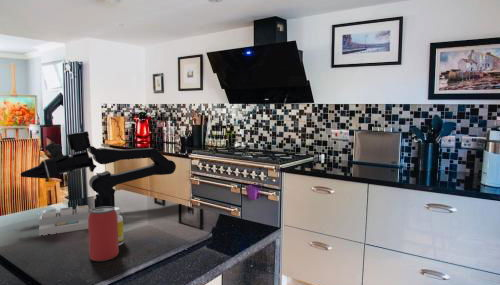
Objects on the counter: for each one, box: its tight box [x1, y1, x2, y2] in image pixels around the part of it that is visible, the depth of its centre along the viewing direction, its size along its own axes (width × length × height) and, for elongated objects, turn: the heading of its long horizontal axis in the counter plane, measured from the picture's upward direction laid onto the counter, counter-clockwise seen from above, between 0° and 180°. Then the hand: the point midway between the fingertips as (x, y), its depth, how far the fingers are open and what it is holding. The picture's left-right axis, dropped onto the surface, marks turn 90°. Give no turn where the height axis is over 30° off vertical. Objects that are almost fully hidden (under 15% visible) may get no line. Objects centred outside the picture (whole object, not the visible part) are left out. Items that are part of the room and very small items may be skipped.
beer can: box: [87, 206, 120, 262], centre depth 81 cm, size 7×7×12 cm
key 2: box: [75, 204, 89, 214], centre depth 109 cm, size 3×3×2 cm
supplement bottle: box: [114, 206, 125, 247], centre depth 90 cm, size 5×5×10 cm
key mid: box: [59, 206, 73, 216], centre depth 106 cm, size 3×3×2 cm
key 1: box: [42, 208, 57, 219], centre depth 104 cm, size 3×3×2 cm
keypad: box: [38, 208, 91, 237], centre depth 106 cm, size 14×14×4 cm
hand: (21, 174), depth 109 cm, fingers open, 9 cm apart
